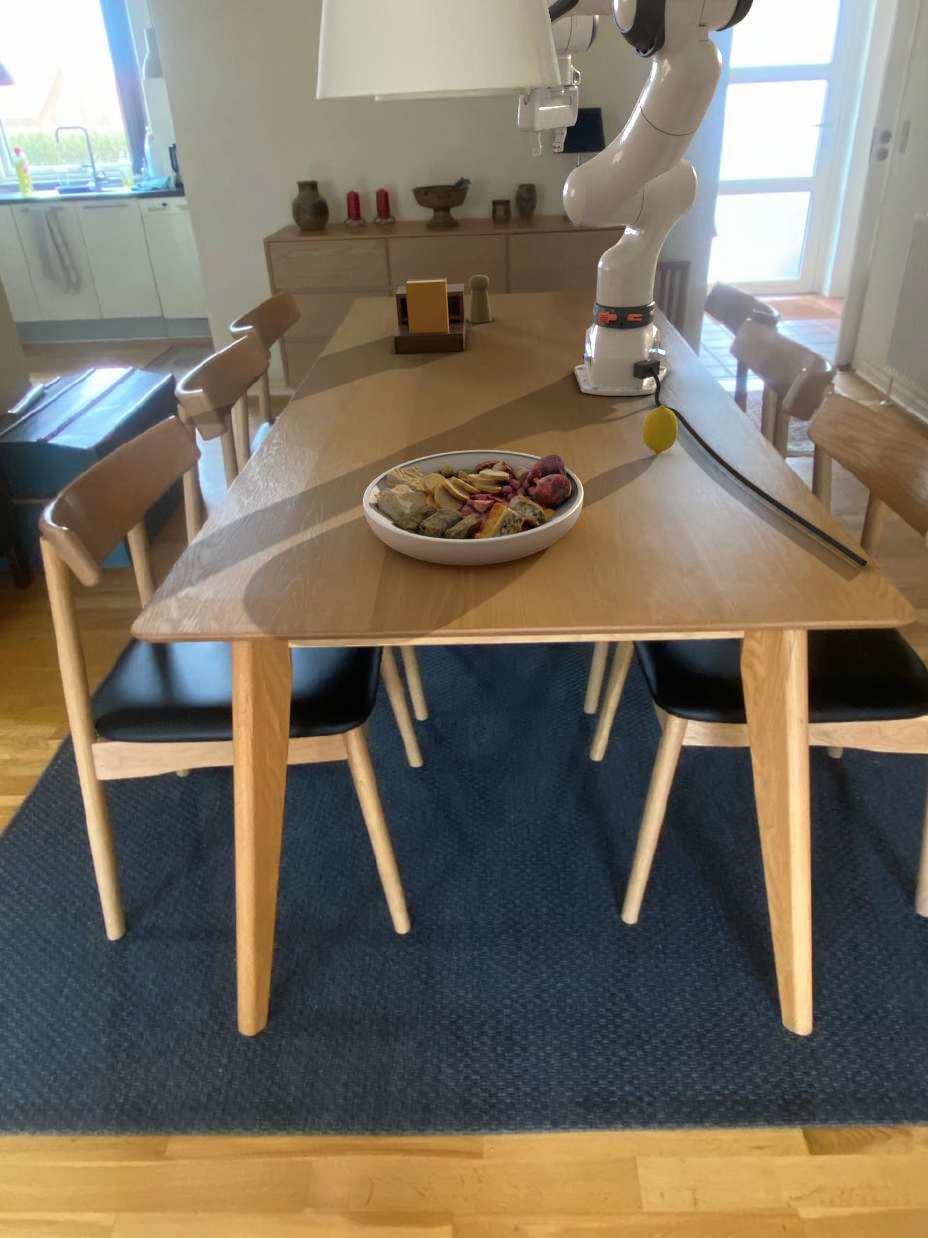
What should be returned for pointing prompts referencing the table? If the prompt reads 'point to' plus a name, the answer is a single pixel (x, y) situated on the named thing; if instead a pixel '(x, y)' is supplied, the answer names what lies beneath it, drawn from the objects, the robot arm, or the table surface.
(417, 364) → the table surface
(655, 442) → the lemon
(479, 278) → the tan pawn game piece
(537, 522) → the bowl
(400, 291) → the wooden l-shaped block
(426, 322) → the book
